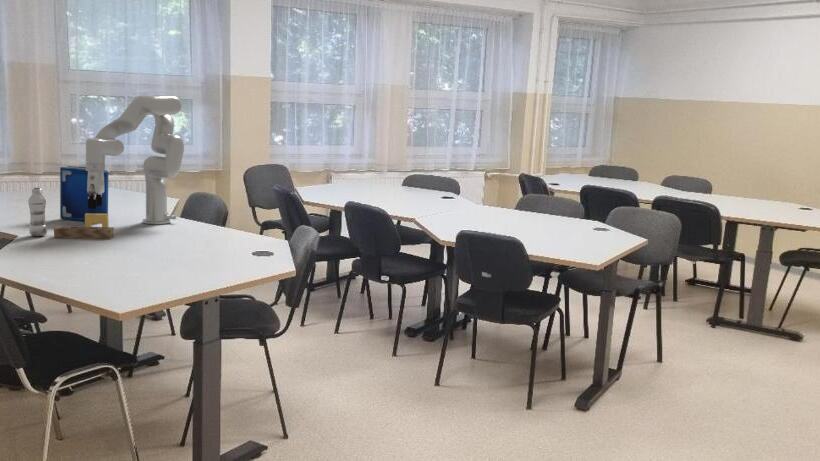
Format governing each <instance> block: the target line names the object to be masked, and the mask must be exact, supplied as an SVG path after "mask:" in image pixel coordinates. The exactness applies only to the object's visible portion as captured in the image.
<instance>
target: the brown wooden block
mask: <svg viewBox="0 0 820 461" xmlns="http://www.w3.org/2000/svg"><path fill="white" fill-rule="evenodd" d="M114 228H115V227H113V226H109V227H102V226H92V227H85V226H82V225H81V226H78V225H77V226H76V225H75V226H74V225H57V226H55V227H54V228H53V238H54V239H80V240H81V239H83V240H85V239H86V240H111V239H113V238H114V236H115V232H114V231H115V229H114Z"/></svg>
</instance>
